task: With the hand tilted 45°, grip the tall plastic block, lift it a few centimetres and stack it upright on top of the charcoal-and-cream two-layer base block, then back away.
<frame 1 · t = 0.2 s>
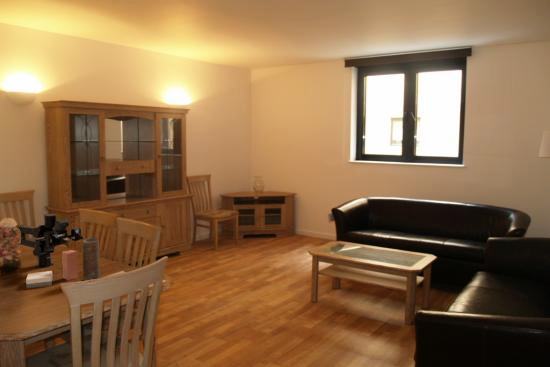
hand: (75, 239, 224), 17 cm above the table, tool horizontal, fingers open, 9 cm apart
top brick: (70, 277, 217), on the table
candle: (91, 280, 214), on the table
base block: (40, 283, 209), on the table
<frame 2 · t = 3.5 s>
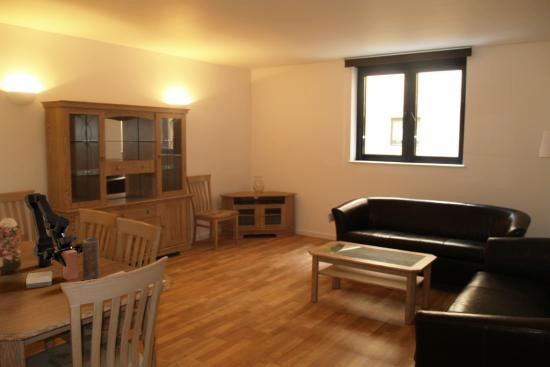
hand: (71, 265, 216), 7 cm above the table, tool tilted 45°, fingers closed on top brick, 5 cm apart
top brick: (70, 277, 217), on the table, touching gripper
everything else where it was.
when the fingers open (11 cm above the table, at t = 8.2 s): top brick stays where it is, resting on base block.
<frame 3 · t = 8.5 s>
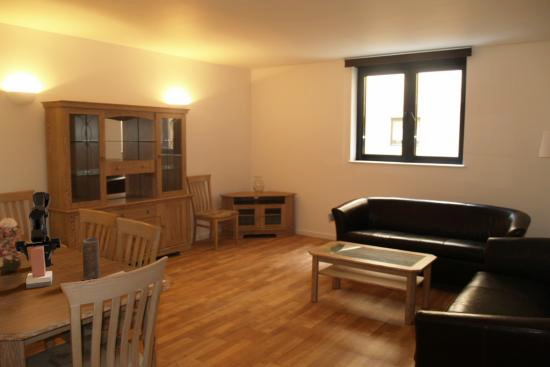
hand: (38, 260, 207), 12 cm above the table, tool tilted 45°, fingers open, 8 cm apart
top brick: (39, 275, 209), point 4 cm above the table, touching base block
everything else where it was.
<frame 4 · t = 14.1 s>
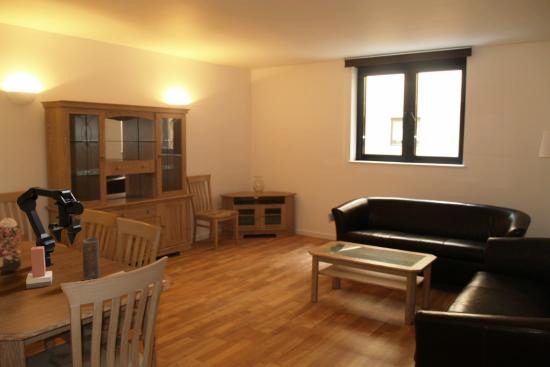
hand: (65, 243, 231), 13 cm above the table, tool pointing down, fingers open, 9 cm apart
nothing on the table moved.
at the end: top brick 0.1 cm off-centre on the base block, point 4.0 cm above the base block's base; top brick tilted 0°; the gripper is holding nothing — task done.
